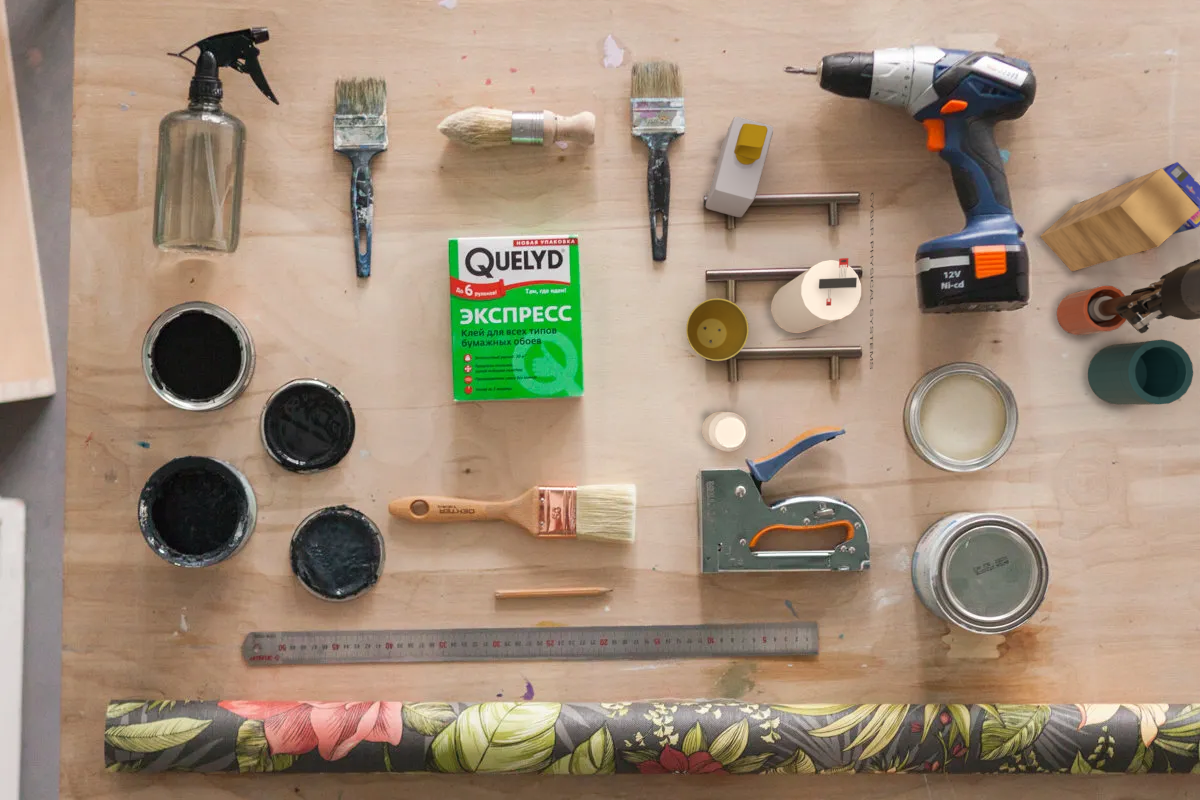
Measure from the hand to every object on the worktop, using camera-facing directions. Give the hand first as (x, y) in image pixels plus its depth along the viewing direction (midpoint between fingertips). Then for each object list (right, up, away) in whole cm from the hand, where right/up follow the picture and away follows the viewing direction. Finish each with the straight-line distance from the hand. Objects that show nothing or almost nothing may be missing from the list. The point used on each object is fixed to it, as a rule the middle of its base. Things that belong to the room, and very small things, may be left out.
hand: (1128, 304), depth 127 cm
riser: (-1, +13, +14) cm, 19 cm away
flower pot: (-62, -3, +14) cm, 63 cm away
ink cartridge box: (+10, +17, +14) cm, 24 cm away
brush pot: (0, 0, +14) cm, 14 cm away
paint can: (-47, +1, +14) cm, 49 cm away
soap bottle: (-58, +23, +14) cm, 64 cm away
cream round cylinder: (-60, -20, +14) cm, 65 cm away
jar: (+7, -10, +14) cm, 18 cm away
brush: (0, 0, +11) cm, 11 cm away
